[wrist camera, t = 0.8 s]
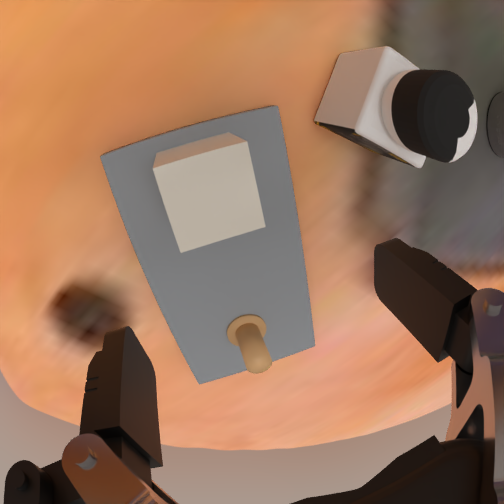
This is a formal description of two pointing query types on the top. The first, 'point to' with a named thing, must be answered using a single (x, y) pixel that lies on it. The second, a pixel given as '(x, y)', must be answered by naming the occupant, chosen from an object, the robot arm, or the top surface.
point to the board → (222, 255)
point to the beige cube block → (209, 190)
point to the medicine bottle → (398, 107)
